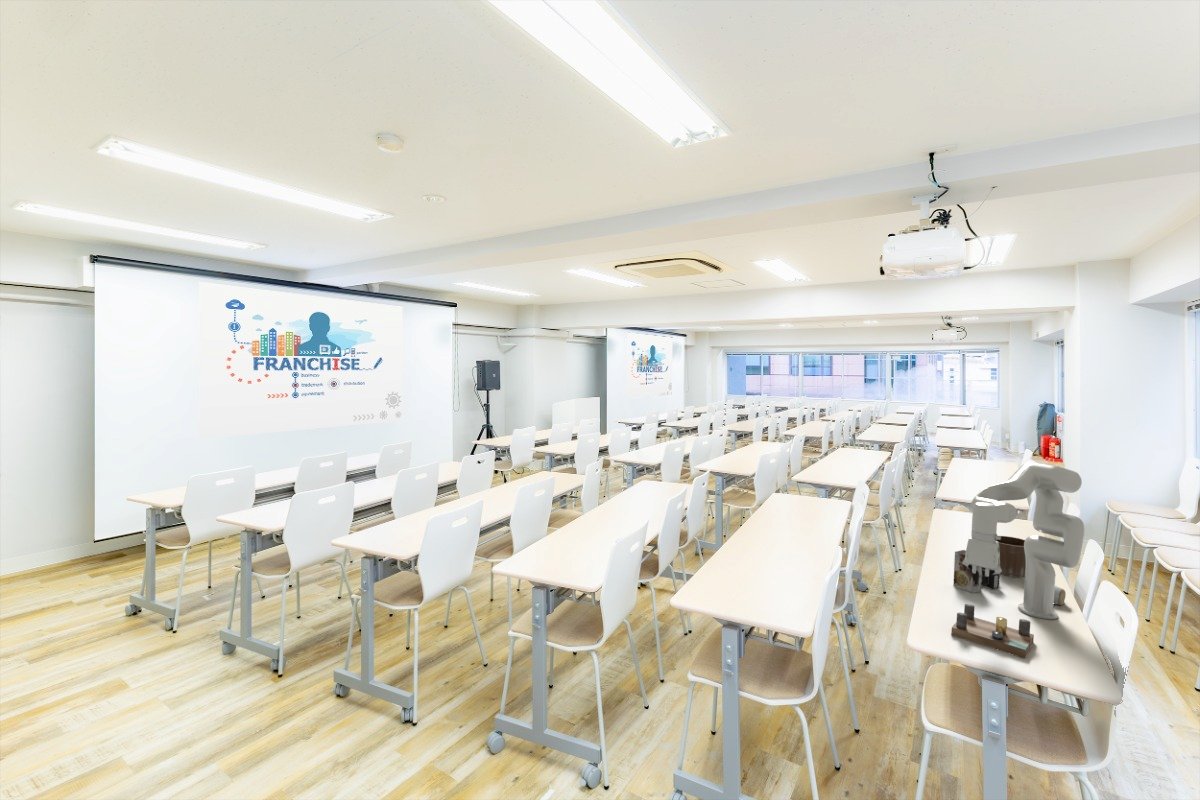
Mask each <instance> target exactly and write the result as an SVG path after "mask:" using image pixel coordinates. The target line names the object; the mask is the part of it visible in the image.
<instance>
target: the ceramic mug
mask: <svg viewBox="0 0 1200 800" xmlns="http://www.w3.org/2000/svg"><path fill="white" fill-rule="evenodd" d="M1065 600H1066V591H1065V589H1064V588H1062V587H1059V586H1058V585H1057V586H1056V585H1055V589H1054V604H1053V605H1057V604H1058V605H1059V606H1061V604H1062V605H1063V604H1064V602H1065ZM1058 605H1057V606H1058Z"/></svg>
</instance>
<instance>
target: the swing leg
mask: <svg viewBox="0 0 1200 800" xmlns="http://www.w3.org/2000/svg"><path fill="white" fill-rule="evenodd" d="M995 623H996V631H992V637H993V638H994V639H997V640H1003V634H1006V632H1007V627H1008V619H1007V618H1005V617H1002V616H997V617H996V619H995Z"/></svg>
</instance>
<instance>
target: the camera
mask: <svg viewBox="0 0 1200 800" xmlns="http://www.w3.org/2000/svg"><path fill="white" fill-rule="evenodd" d="M991 570H992V569H991ZM984 574H985V568H984V567H983V569H982V586H983V576H984ZM1000 576H1001V574H1000V573H994V574H992V575H990V576H989V584H987V585H986V586H985V587H986V588H988V589H990V590H999V589H1000Z"/></svg>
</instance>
